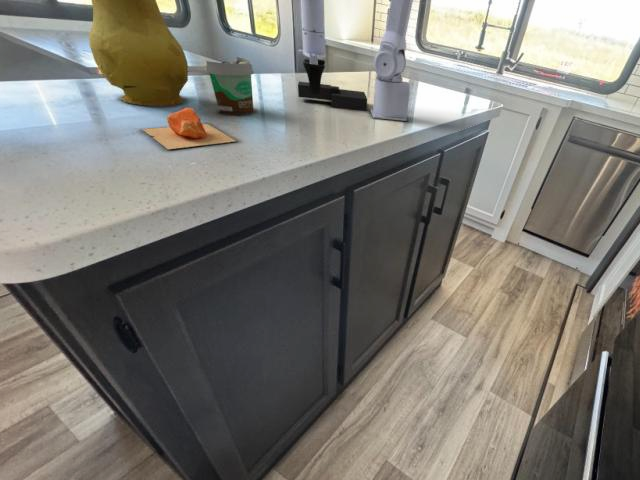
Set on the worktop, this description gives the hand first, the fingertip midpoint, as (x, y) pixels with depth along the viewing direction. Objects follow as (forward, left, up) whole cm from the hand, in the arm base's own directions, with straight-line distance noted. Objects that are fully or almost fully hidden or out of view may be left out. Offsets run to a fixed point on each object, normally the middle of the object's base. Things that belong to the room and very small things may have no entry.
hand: (315, 91), depth 96 cm
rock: (+22, +40, -3) cm, 46 cm away
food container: (+16, +19, -3) cm, 25 cm away
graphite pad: (-10, 0, -3) cm, 10 cm away
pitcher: (+36, +15, -3) cm, 40 cm away
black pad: (-1, 0, -1) cm, 2 cm away
